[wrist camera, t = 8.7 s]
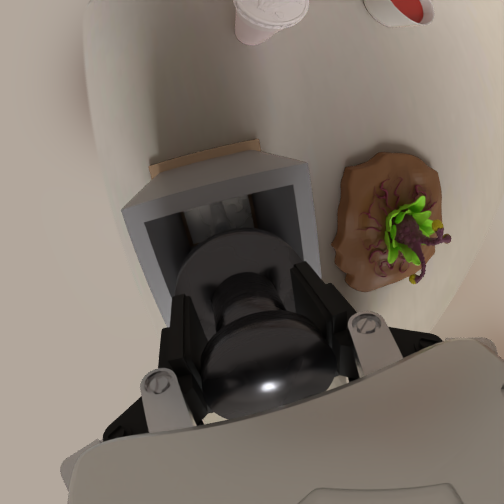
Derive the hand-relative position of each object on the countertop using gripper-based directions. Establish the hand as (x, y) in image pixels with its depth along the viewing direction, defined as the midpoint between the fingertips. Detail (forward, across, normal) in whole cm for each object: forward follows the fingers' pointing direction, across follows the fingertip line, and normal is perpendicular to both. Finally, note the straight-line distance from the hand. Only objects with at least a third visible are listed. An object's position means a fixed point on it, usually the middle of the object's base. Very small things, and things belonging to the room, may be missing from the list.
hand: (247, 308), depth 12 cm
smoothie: (+21, -8, -19) cm, 30 cm away
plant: (+21, -23, +8) cm, 33 cm away
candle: (+21, -28, -24) cm, 43 cm away
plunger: (+20, 0, 0) cm, 20 cm away
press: (+21, 0, 0) cm, 21 cm away
